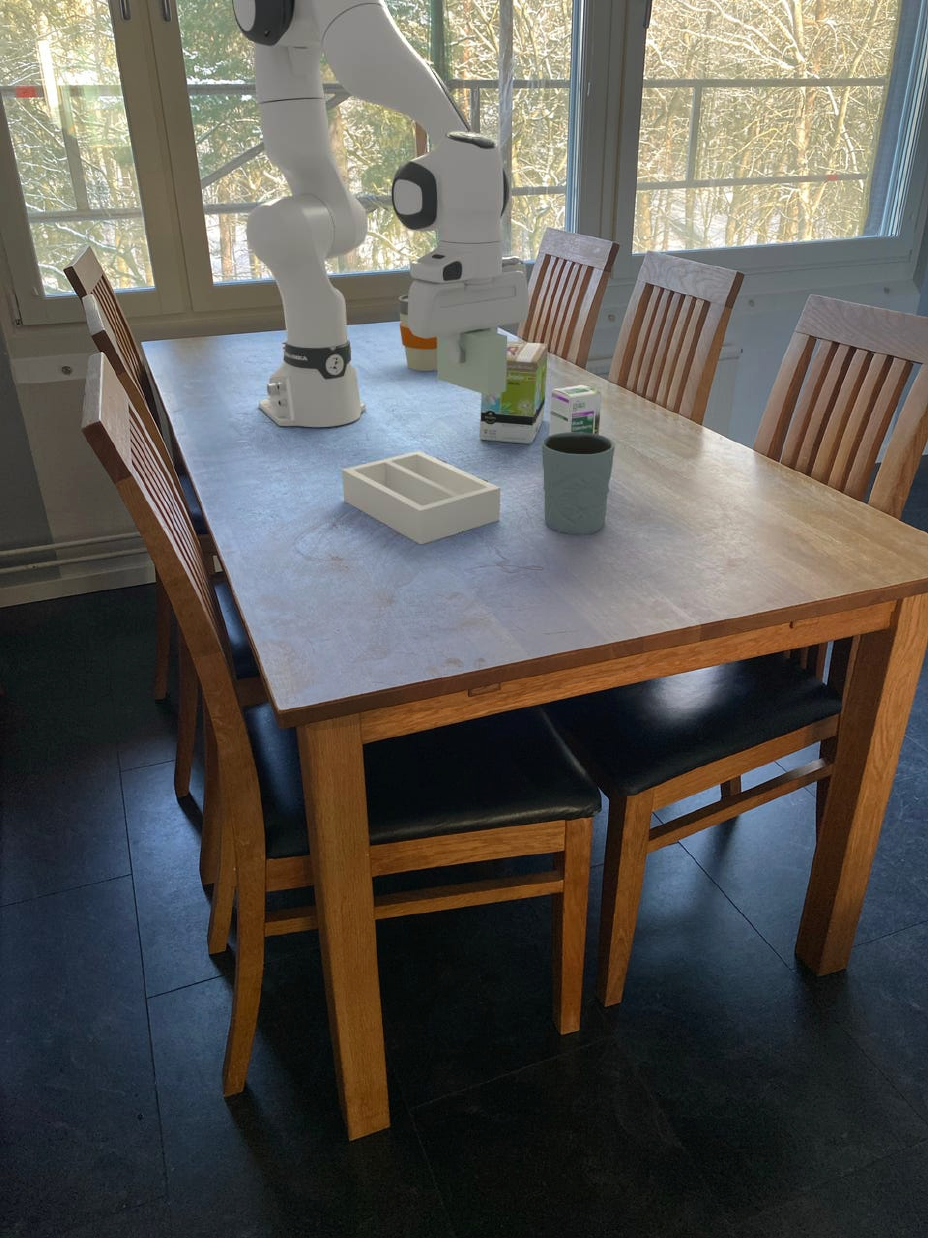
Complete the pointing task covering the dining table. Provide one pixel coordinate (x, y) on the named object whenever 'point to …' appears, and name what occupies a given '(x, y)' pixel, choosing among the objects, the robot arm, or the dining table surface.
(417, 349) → the reusable coffee cup
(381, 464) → the divided cream tray
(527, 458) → the dining table surface
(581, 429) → the syrup box
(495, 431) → the tea box
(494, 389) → the long pale green block
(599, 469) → the gray green embossed cup
